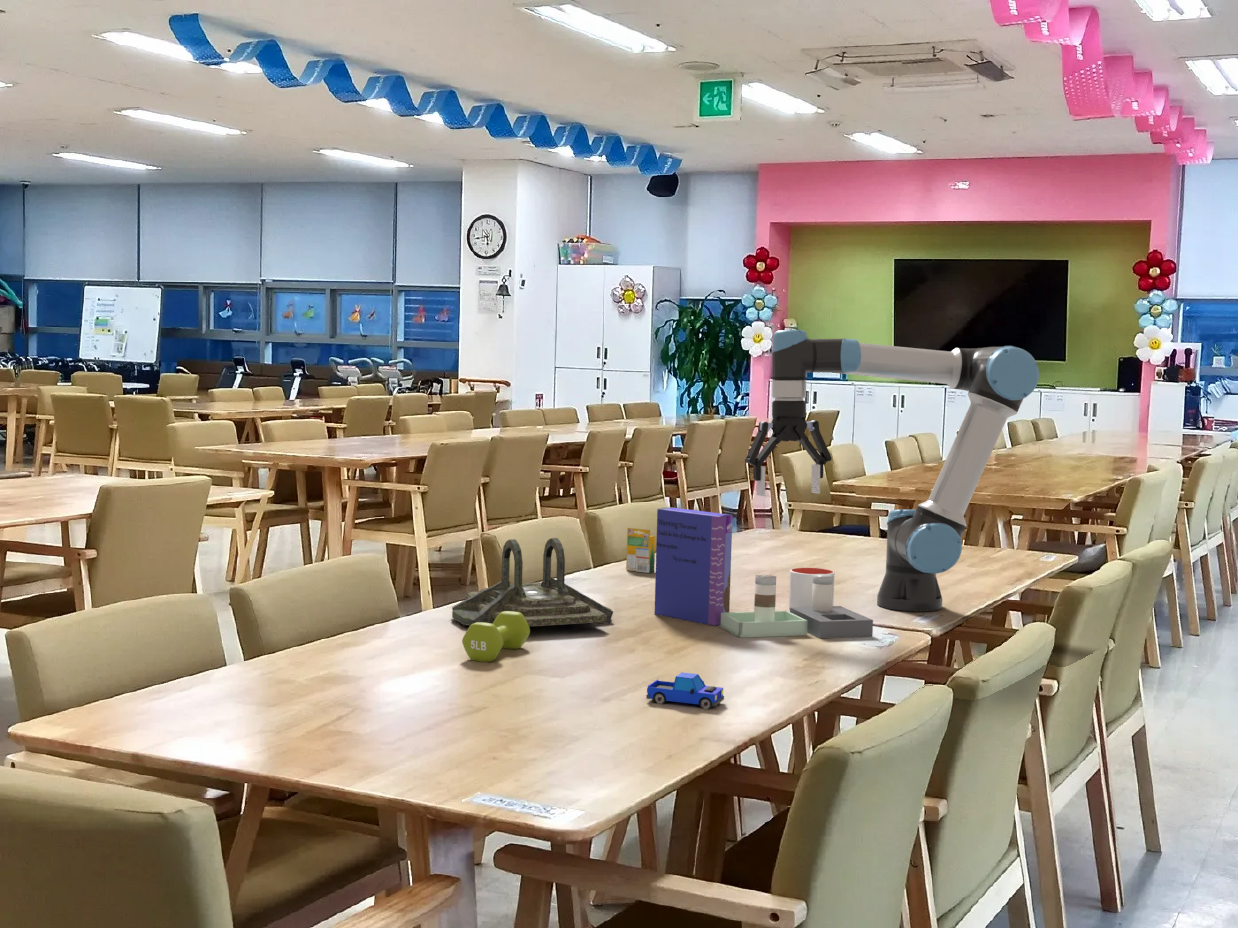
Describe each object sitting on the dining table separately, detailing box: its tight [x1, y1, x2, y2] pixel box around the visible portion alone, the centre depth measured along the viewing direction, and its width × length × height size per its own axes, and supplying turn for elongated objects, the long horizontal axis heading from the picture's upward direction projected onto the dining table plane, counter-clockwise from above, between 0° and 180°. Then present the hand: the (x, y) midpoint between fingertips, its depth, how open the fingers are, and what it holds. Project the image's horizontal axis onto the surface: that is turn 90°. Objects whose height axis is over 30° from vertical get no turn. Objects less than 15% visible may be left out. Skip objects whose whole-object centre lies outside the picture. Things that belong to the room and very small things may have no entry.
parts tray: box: [720, 610, 808, 638], centre depth 293 cm, size 15×11×3 cm
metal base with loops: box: [451, 537, 614, 628], centre depth 298 cm, size 35×34×18 cm
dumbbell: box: [461, 611, 531, 663], centre depth 265 cm, size 16×8×7 cm, turn 160°
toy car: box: [645, 672, 725, 710], centre depth 231 cm, size 7×12×5 cm, turn 70°
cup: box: [788, 567, 835, 611], centre depth 313 cm, size 10×10×10 cm
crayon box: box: [625, 527, 656, 574], centre depth 368 cm, size 7×3×12 cm, turn 58°
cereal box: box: [654, 506, 733, 627], centre depth 303 cm, size 17×5×24 cm, turn 47°
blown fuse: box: [753, 574, 777, 622], centre depth 293 cm, size 4×4×11 cm
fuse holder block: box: [789, 574, 874, 639], centre depth 296 cm, size 12×16×11 cm
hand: (788, 494), depth 309 cm, fingers open, 13 cm apart
